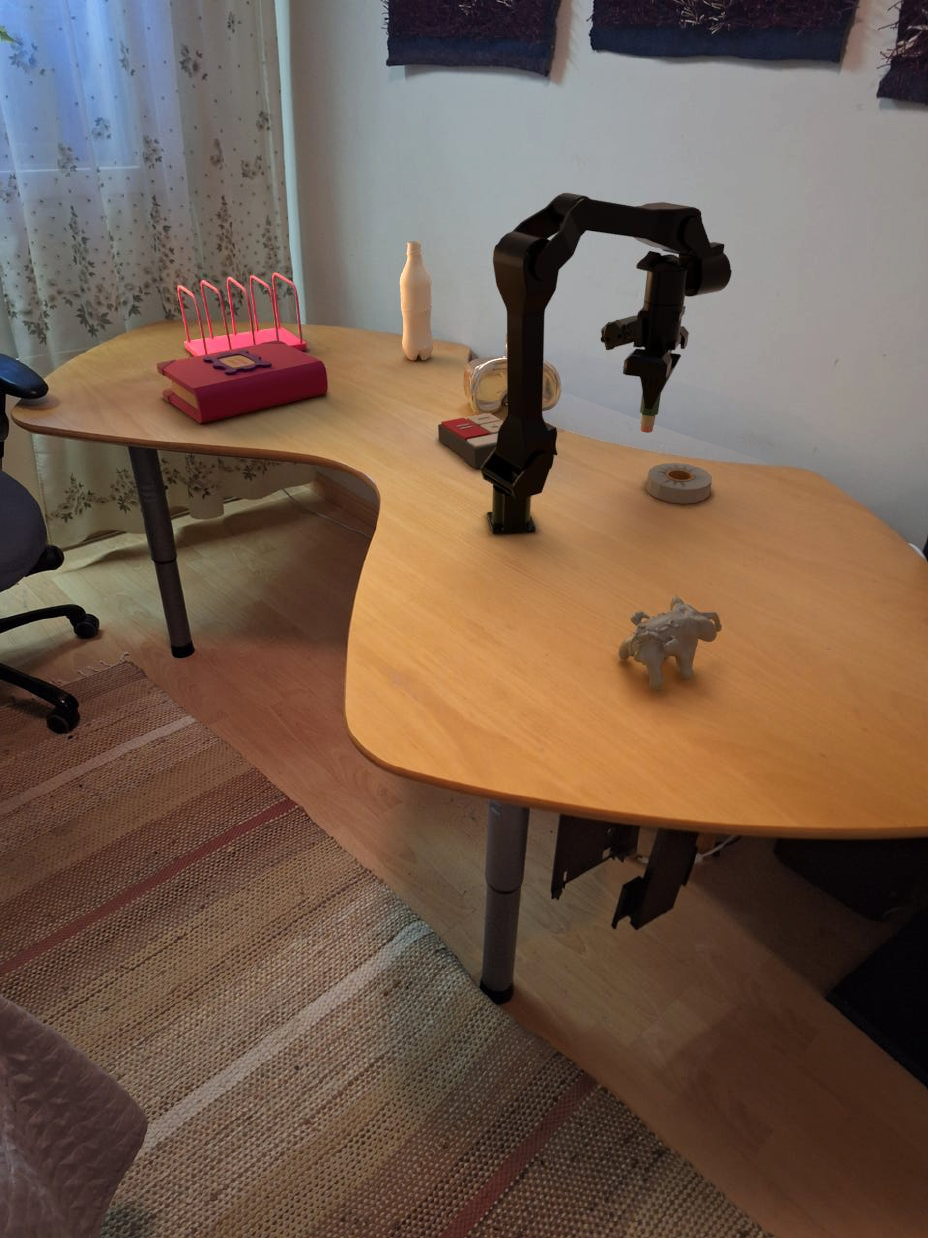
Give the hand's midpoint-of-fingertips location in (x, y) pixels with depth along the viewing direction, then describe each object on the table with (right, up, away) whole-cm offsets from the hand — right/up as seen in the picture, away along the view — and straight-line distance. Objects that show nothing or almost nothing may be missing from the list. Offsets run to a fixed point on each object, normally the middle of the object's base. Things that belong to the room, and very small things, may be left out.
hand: (650, 405), depth 125 cm
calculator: (-26, -3, +20) cm, 32 cm away
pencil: (0, -3, +2) cm, 4 cm away
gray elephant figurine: (-6, -39, -32) cm, 51 cm away
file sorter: (-82, +32, +70) cm, 113 cm away
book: (-75, +13, +42) cm, 87 cm away
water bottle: (-40, +28, +64) cm, 81 cm away
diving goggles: (-20, +9, +36) cm, 42 cm away
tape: (+6, -12, +5) cm, 15 cm away
